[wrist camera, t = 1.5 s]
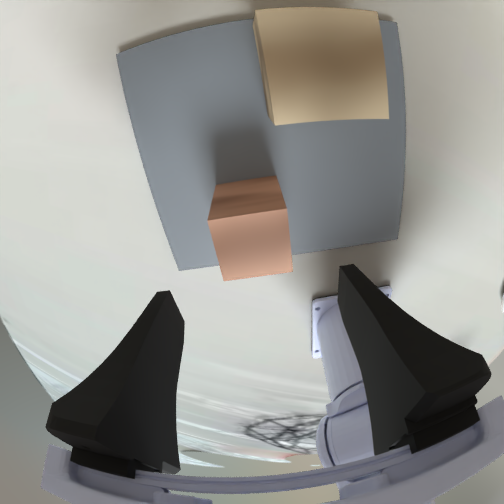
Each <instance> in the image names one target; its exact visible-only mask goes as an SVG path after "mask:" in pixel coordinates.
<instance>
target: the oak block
mask: <svg viewBox="0 0 504 504" xmlns="http://www.w3.org/2000/svg"><path fill="white" fill-rule="evenodd" d="M253 30H254V36H255V41H256V47H257V52H258V58H259V64H260V70H261V76H262V82H263V88H264V94H265V100H266V107H267V113H268V117H269V118H270V120H271V121H272V122H273V124H274V125H275V126H276V125H284V124H293V123H304V122H316V121H330V120H351V119H389V106H388V90H387V77H386V67H385V58H384V50H383V43H382V36H381V30H380V24H379V18H378V13H377V12H375V11H367V10H359V9H348V8H332V7H287V8H271V9H260V10H255V15H254V21H253Z"/></svg>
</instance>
